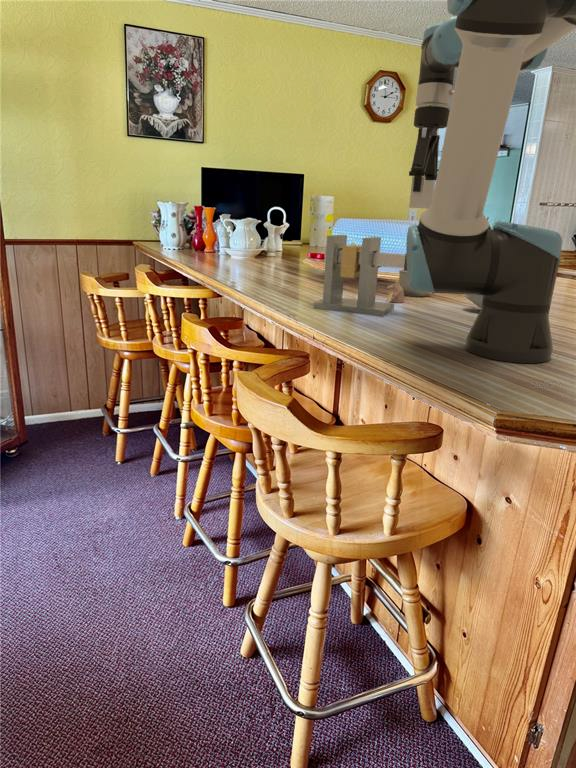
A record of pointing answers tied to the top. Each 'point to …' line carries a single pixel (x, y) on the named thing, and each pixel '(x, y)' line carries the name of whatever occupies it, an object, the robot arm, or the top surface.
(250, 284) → the top surface
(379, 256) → the shaft
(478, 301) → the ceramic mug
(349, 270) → the tan block
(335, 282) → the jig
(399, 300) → the mouse figurine
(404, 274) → the teacup
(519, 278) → the robot arm
